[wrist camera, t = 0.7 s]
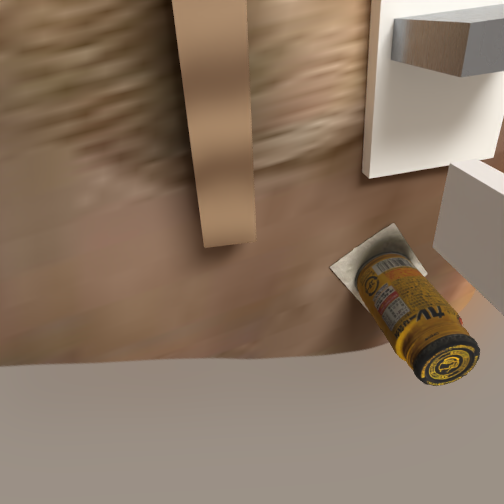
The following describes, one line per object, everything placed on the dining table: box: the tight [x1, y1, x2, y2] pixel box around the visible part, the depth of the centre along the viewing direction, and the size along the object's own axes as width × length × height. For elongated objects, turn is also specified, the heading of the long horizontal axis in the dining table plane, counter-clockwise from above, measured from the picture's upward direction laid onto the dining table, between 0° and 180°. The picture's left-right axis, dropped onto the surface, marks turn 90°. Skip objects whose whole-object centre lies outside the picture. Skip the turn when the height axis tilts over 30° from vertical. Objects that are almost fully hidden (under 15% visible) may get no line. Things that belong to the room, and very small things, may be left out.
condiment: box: [330, 223, 480, 386], centre depth 34 cm, size 7×8×12 cm
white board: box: [362, 0, 504, 179], centre depth 27 cm, size 20×11×2 cm, turn 6°
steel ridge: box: [391, 4, 504, 77], centre depth 23 cm, size 2×9×8 cm, turn 96°
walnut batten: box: [172, 0, 257, 248], centre depth 25 cm, size 24×4×5 cm, turn 3°
